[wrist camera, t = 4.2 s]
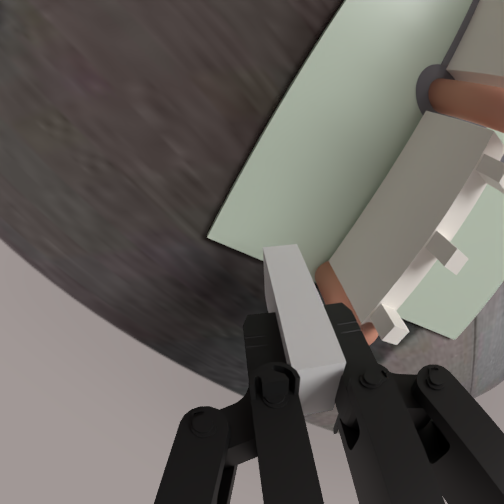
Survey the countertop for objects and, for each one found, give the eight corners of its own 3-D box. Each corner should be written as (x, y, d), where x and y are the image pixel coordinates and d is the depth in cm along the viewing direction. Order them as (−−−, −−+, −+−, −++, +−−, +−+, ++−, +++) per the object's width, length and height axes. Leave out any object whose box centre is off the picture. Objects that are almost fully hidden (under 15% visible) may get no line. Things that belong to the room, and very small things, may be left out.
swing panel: (422, 107, 12) (515, 135, 7) (442, 127, 13) (531, 164, 8) (308, 280, 17) (343, 370, 12) (332, 290, 18) (371, 376, 12)
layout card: (207, 234, 16) (206, 238, 15) (405, -84, 6) (409, -87, 6) (452, 337, 23) (455, 340, 23) (572, 143, 14) (576, 145, 14)
